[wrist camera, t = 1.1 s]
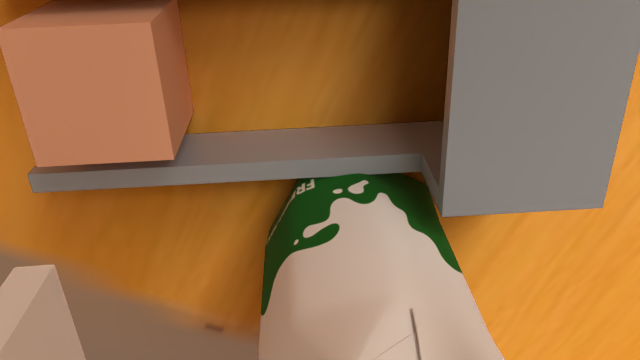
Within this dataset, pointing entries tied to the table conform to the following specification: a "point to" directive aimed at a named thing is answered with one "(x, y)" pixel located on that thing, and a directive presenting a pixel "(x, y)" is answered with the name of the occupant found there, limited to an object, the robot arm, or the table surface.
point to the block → (100, 80)
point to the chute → (451, 120)
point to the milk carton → (366, 277)
